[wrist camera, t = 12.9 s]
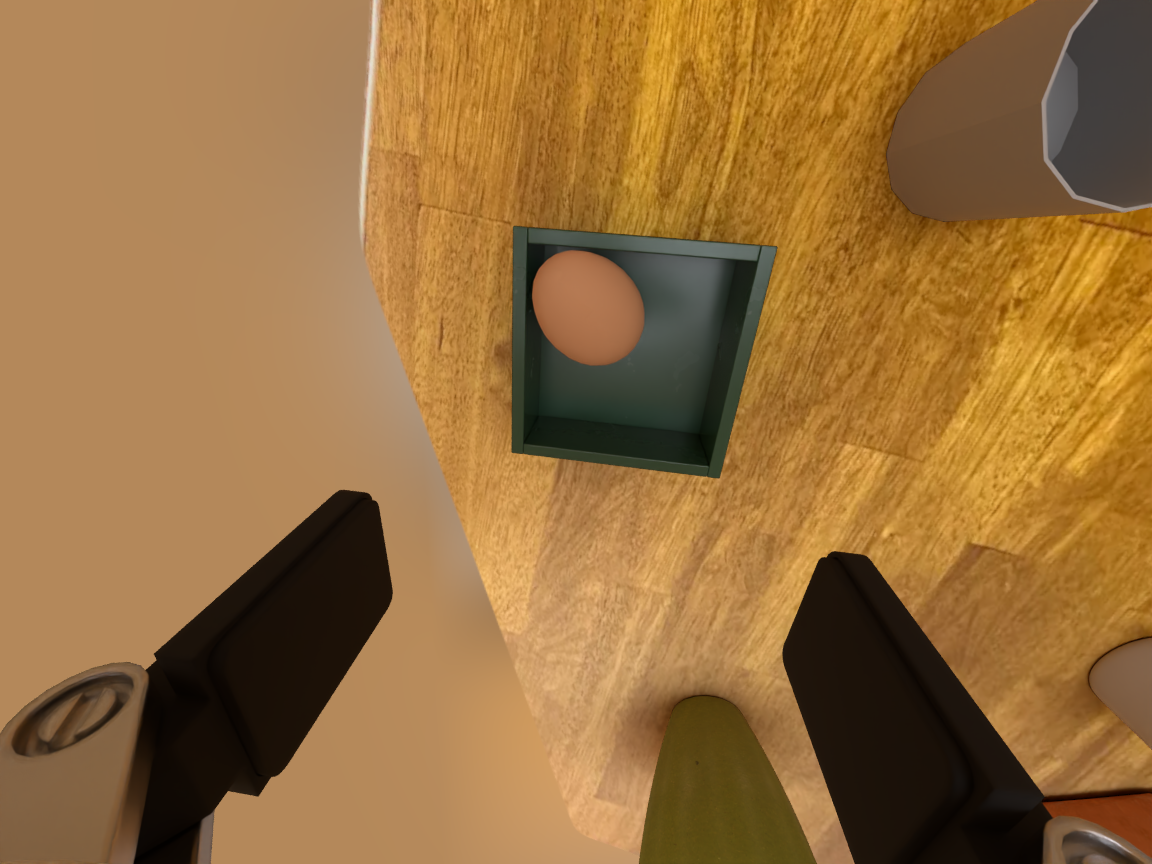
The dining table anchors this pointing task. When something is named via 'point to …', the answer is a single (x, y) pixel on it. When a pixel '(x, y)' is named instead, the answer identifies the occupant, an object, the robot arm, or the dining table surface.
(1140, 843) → the bread
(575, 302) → the egg
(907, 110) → the cup
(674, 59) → the dining table surface
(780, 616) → the dining table surface
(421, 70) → the dining table surface
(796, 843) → the flower pot
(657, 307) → the dark green open crate
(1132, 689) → the mug
